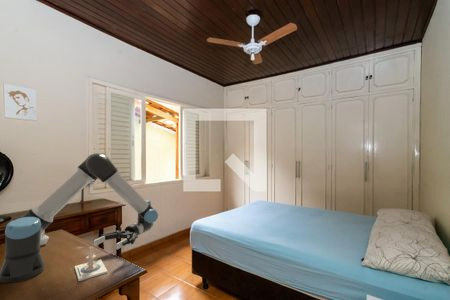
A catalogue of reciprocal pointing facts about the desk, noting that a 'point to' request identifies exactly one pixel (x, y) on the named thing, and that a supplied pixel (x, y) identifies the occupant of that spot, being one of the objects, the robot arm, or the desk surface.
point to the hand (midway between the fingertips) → (105, 244)
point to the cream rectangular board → (89, 274)
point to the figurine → (43, 238)
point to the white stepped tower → (90, 260)
